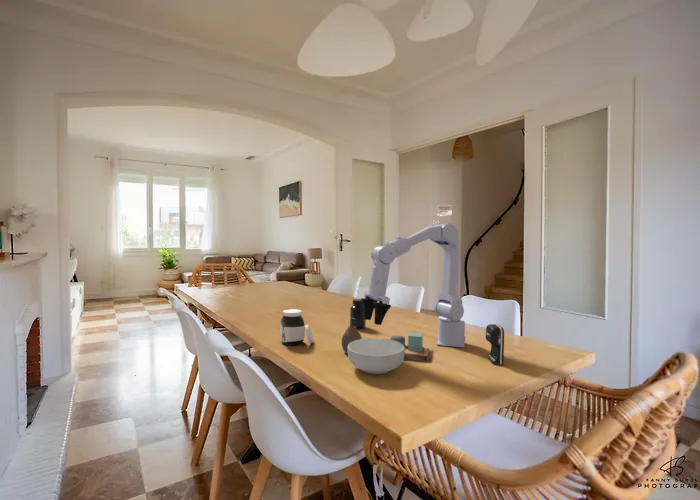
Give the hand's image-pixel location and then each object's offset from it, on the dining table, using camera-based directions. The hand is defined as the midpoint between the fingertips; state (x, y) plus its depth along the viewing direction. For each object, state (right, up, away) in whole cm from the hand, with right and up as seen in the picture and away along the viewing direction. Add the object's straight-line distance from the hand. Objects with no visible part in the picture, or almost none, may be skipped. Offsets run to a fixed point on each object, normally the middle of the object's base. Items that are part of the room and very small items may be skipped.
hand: (372, 322), depth 120 cm
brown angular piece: (+10, -11, -1) cm, 14 cm away
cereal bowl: (0, -11, -14) cm, 18 cm away
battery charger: (+38, -11, -7) cm, 40 cm away
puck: (+10, -11, +10) cm, 17 cm away
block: (+15, -11, +6) cm, 20 cm away
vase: (-7, -11, +1) cm, 13 cm away
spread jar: (-27, -10, +12) cm, 31 cm away
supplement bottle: (-4, -10, +36) cm, 37 cm away
